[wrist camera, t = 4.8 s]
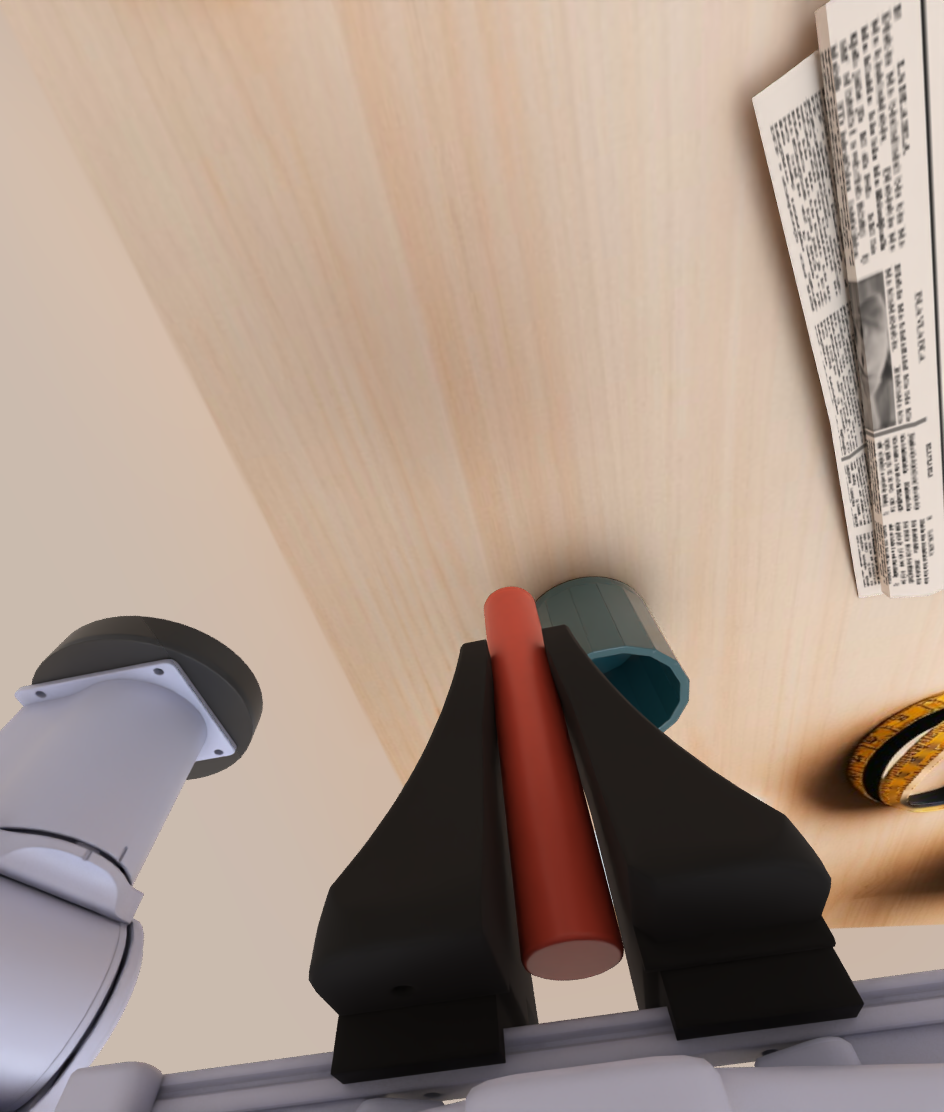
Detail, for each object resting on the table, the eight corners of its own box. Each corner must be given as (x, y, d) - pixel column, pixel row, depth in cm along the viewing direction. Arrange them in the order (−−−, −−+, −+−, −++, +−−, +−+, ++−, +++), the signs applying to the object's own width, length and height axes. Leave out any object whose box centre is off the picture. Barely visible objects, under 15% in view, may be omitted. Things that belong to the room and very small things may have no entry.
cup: (531, 683, 27) (547, 763, 22) (512, 590, 23) (527, 663, 19) (648, 662, 26) (687, 740, 22) (646, 564, 23) (692, 633, 19)
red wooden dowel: (489, 630, 16) (529, 988, 8) (478, 590, 15) (513, 947, 7) (538, 621, 16) (628, 974, 8) (531, 580, 15) (622, 930, 7)
